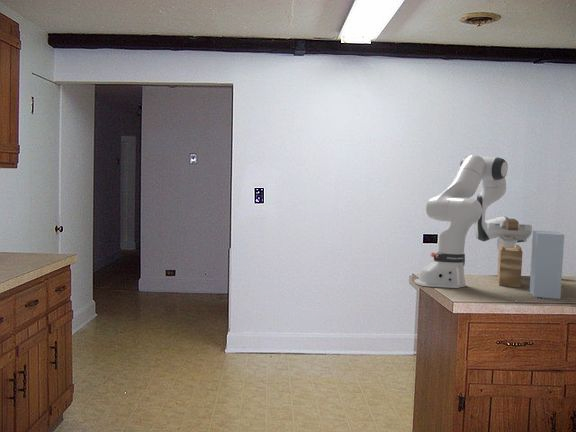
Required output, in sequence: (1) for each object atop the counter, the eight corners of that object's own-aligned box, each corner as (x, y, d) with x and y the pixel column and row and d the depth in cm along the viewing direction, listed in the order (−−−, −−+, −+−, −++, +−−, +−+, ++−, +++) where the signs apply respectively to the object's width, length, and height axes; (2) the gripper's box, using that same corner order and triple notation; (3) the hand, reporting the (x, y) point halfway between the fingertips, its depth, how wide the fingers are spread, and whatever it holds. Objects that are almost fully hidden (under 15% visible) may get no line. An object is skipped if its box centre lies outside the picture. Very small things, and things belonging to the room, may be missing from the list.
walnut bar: (517, 230, 266) (518, 221, 266) (508, 230, 268) (508, 221, 267) (514, 227, 286) (514, 218, 285) (505, 226, 287) (505, 218, 286)
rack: (520, 287, 267) (522, 248, 266) (499, 285, 270) (501, 246, 269) (517, 281, 283) (519, 244, 282) (497, 280, 285) (499, 243, 284)
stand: (560, 299, 242) (564, 234, 240) (533, 296, 245) (537, 233, 243) (554, 292, 257) (558, 231, 256) (529, 290, 260) (533, 230, 259)
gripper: (485, 228, 299) (487, 215, 287) (529, 230, 293) (533, 217, 281) (485, 239, 296) (487, 227, 284) (529, 241, 290) (533, 229, 278)
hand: (510, 222), depth 282 cm, fingers closed on walnut bar, 4 cm apart
